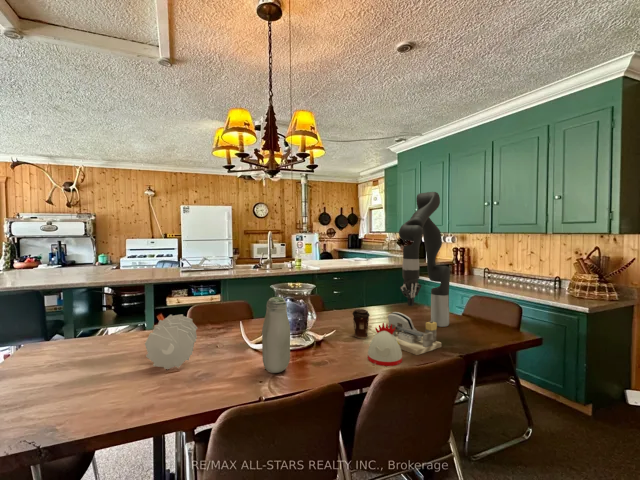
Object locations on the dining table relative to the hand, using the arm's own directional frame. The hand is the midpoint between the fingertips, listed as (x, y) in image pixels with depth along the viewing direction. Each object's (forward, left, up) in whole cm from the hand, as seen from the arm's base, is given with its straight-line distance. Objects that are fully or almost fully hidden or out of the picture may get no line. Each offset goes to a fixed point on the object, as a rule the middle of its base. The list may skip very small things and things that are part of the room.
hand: (410, 305), depth 150 cm
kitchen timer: (+23, +5, -18) cm, 30 cm away
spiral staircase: (+95, -42, -18) cm, 105 cm away
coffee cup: (+12, -21, -18) cm, 31 cm away
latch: (-6, +6, -11) cm, 14 cm away
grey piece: (-14, -18, -19) cm, 30 cm away
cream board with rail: (0, -1, -18) cm, 18 cm away
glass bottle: (+65, -10, -18) cm, 68 cm away
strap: (0, -1, -13) cm, 13 cm away
